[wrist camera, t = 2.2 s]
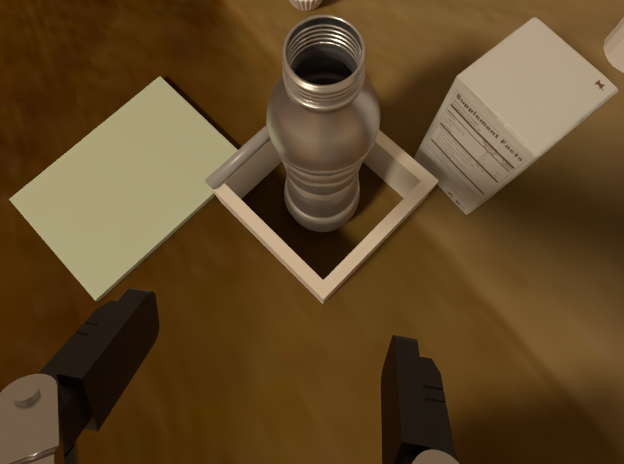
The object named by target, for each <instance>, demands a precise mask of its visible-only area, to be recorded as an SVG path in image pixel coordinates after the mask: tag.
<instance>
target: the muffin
mask: <svg viewBox="0 0 624 464" xmlns="http://www.w3.org/2000/svg"><path fill="white" fill-rule="evenodd" d="M289 1H290V2H291V3H292V5H293V6H295V8H297V9H298V10H299V9H300V10H303V11H310V10H313V9H315V8H317V7H318V6H319V5H320V4H321V2H322V1H323V0H289Z"/></svg>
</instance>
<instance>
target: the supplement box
mask: <svg viewBox="0 0 624 464" xmlns="http://www.w3.org/2000/svg"><path fill="white" fill-rule="evenodd" d="M617 92H618V88H617V87H616V86H615V85H614V84H613V83H611V82H610V81H609V80H608V79H607V78H606V77H605V76H604V75H603V74H602V73H601V72H599V71H598V70H597V69H596V68H595V67H594V66H593V65H591V64H590V63H589V62H588V61H587V60H586V59H584V58H583V57H582V56H581V55H580V54H579V53H577V52H576V51H575V50H574V49H573V48H572V47H570V46H569V45H568V44H567V43H566V42H565V41H563V40H562V39H561V38H560V37H559V36H558V35H556V34H555V33H554V32H553V31H552V30H551V29H549V28H548V27H547V26H546V25H545V24H544V23H543V22H541V21H540V20H538V19H537V18H536V17H533V18H532V19H530V20H529V21H528V22H526V23H525V24H524V25H522V26H521V27H520V28H518V29H517V30H516V31H514V32H513V33H512V34H510V35H509V36H508V37H506V38H505V39H504V40H503V41H501V42H500V43H499V44H497V45H496V46H495V47H493V48H492V49H491V50H489V51H488V52H487V53H486V54H484V55H483V56H482V57H480V58H479V59H478V60H476V61H475V62H474V63H473V64H471V65H470V66H469V67H467V68H466V69H465V70H464V71H462V72H461V73H460V74H458V75H457V76H456V78H455V80H454V82H453V84H452V86H451V88H450V90H449V92H448V94H447V95H446V97H445V99H444V101H443V103H442V105H441V107H440V109H439V110H438V112H437V114H436V116H435V118H434V120H433V122H432V124H431V125H430V127H429V129H428V131H427V133H426V135H425V137H424V139H423V141H422V143H421V145H420V147H419V148H418V151H417V153H416V154H415V156H414V160H415V161H416V162H418V163H419V164H420V165H421V166H422V167H424V168H425V169H426V170H427V171H428V172H429V173H431V174H432V175H433V176H434V177H435V178H436V179H438V180H439V182H438V183H437V185H438V186H439V187H440V188H441V189H442V190H443V191H444V192H445V193H446V194H447V196H448V197H449V198H450V199H451V200H452V201H453V202H454V203H455V204H456V205H457V206H458V207H459V208H460V209H461V210H462V211H463V212H464V213H465V214H466V215H468V214H469V213H471V212H472V211H473V210H475V209H476V208H477V207H479V206H480V205H481V204H483V203H484V202H485V201H487V200H488V199H489V198H490V197H492V196H493V195H494V194H496V193H497V192H498V191H499V190H500V189H502V188H503V187H504V186H505V185H507V184H508V183H509V182H510V181H512V180H513V179H514V178H516V177H517V176H518V175H519V174H521V173H522V172H523V171H524V170H526V169H527V168H528V167H529V166H531V165H532V164H533V163H534V162H536V161H537V160H538V159H539V158H540V157H542V156H543V155H544V154H545V153H546V152H548V151H549V150H550V149H551V148H553V147H554V146H555V145H556V144H557V143H558V142H560V141H561V140H562V139H563V138H564V137H565V136H567V135H568V134H569V133H570V132H571V131H572V130H574V129H575V128H576V127H577V126H578V125H579V124H581V123H582V122H583V121H584V120H585V119H586V118H587V117H589V116H590V115H591V114H592V113H593V112H594V111H596V110H597V109H598V108H599V107H600V106H601V105H603V104H604V103H605V102H606V101H607V100H609V99H610V98H611V97H612V96H613V95H614V94H616V93H617Z"/></svg>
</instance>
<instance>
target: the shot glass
mask: <svg viewBox="0 0 624 464" xmlns="http://www.w3.org/2000/svg"><path fill="white" fill-rule="evenodd" d="M604 52H605V56H606V58H607V59H608V61H609V62H610V63H611V64H612V66H614V67H615V68H617V69H618V70H620V71H621V72H623V73H624V17H623V18H622V19H621V20H620V22H619V23H618V24H617V25H616V27H615V28H614V29H613V30H612V31H611V33H610V34H609V35H608V36H607V38H606V39H605V43H604Z"/></svg>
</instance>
